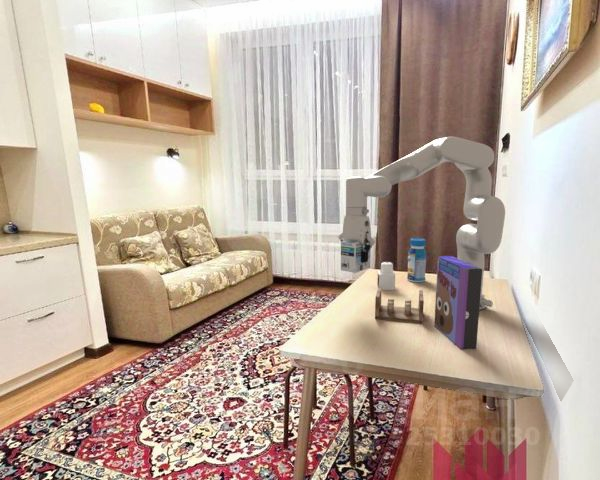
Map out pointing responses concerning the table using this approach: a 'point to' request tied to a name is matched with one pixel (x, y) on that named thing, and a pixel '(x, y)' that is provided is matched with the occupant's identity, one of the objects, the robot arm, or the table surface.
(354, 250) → the light bulb box
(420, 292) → the peg stand
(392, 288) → the medicine bottle
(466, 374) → the table surface
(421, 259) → the beverage bottle
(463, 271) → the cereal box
